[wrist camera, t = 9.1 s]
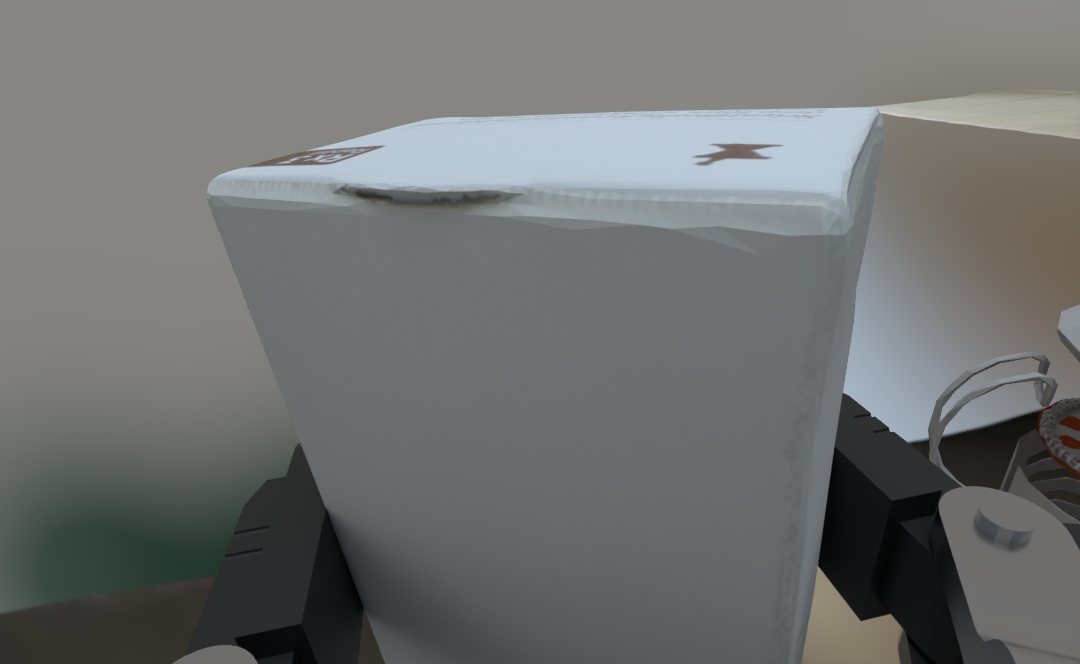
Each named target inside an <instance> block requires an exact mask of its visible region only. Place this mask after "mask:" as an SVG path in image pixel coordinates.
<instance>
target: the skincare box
mask: <svg viewBox="0 0 1080 664" xmlns="http://www.w3.org/2000/svg"><path fill="white" fill-rule="evenodd" d="M882 143H883V121H882V117H881V114H880V112H879V110H878V108H872V107H865V108H819V109H758V110H757V109H756V110H700V111H699V110H698V111H655V112H654V111H652V112H615V113H614V112H612V113H587V114H586V113H584V114H556V115H530V116H502V117H501V116H500V117H472V118H469V117H467V118H466V117H460V118H459V117H456V118H455V117H453V118H438V119H430V120H424V121H419V122H415V123H411V124H407V125H402V126H398V127H394V128H391V129H387V130H384V131H380V132H377V133H374V134H370V135H366V136H363V137H359V138H355V139H351V140H347V141H344V142H340V143H336V144H332V145H328V146H324V147H320V148H316V149H312V150H308V151H304V152H300V153H296V154H292V155H288V156H284V157H280V158H276V159H272V160H269V161H265V162H262V163H258V164H255V165H251V166H248V167H244V168H240V169H236V170H233V171H229V172H227V173H224V174H221V175H219V176H217V177H216V178H215V179H213V180H212V181H211V182H210V183H209V186H208V191H207V199H208V202H209V206H210V209H211V212H212V214H213V217H214V219H215V222H216V225H217V227H218V230H219V232H220V235H221V237H222V240H223V243H224V245H225V248H226V251H227V253H228V256H229V259H230V261H231V264H232V267H233V269H234V272H235V274H236V276H237V278H238V281H239V284H240V286H241V289H242V292H243V295H244V298H245V300H246V303H247V306H248V309H249V311H250V314H251V316H252V319H253V321H254V324H255V326H256V329H257V331H258V334H259V337H260V339H261V341H262V344H263V347H264V350H265V352H266V355H267V357H268V360H269V363H270V365H271V368H272V371H273V373H274V376H275V378H276V381H277V383H278V386H279V388H280V391H281V393H282V396H283V398H284V401H285V404H286V406H287V409H288V412H289V414H290V417H291V420H292V422H293V425H294V428H295V430H296V433H297V435H298V438H299V440H300V443H301V446H302V448H303V451H304V453H305V456H306V459H307V461H308V464H309V466H310V469H311V472H312V474H313V477H314V479H315V482H316V485H317V487H318V490H319V492H320V495H321V497H322V500H323V503H324V505H325V507H326V509H327V512H328V514H329V517H330V520H331V523H332V526H333V528H334V531H335V534H336V536H337V539H338V542H339V544H340V547H341V549H342V552H343V555H344V557H345V560H346V562H347V565H348V568H349V570H350V573H351V575H352V578H353V581H354V583H355V586H356V588H357V591H358V594H359V596H360V599H361V601H362V604H363V607H364V609H365V612H366V615H367V617H368V620H369V622H370V625H371V628H372V630H373V633H374V635H375V638H376V641H377V643H378V646H379V649H380V651H381V654H382V656H383V659H384V662H385V664H801V661H802V655H803V650H804V644H805V639H806V634H807V628H808V623H809V618H810V612H811V607H812V601H813V596H814V589H815V582H816V575H817V568H818V560H819V553H820V546H821V539H822V532H823V525H824V518H825V510H826V503H827V496H828V489H829V482H830V475H831V468H832V460H833V453H834V446H835V439H836V433H837V427H838V420H839V414H840V407H841V401H842V394H843V388H844V381H845V375H846V368H847V362H848V356H849V348H850V342H851V336H852V330H853V323H854V311H855V297H856V287H857V281H858V277H859V272H860V267H861V263H862V258H863V253H864V248H865V243H866V239H867V234H868V229H869V224H870V219H871V213H872V207H873V201H874V195H875V188H876V181H877V176H878V170H879V163H880V156H881V149H882Z"/></svg>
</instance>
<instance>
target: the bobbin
mask: <svg viewBox="0 0 1080 664" xmlns="http://www.w3.org/2000/svg"><path fill="white" fill-rule="evenodd" d="M900 627H901V626H900V625H899V623H898V622H897V621H896V620H895V619H894V617H893V616H892V615H891V614H889V615H885V616H881V617H876V618H872V619H868V620H864V621H860V620H859V618H858V617H857V616H856V615H855V613H854V612H853V611H852V609H851V608H850V607H849V605H848V604H847V603H846V602H845V600H844V599H843V598H842V596H841V595H840V594H839V593H838V591H837V590H836V589H835V587H834V586H833V585H832V583H831V582H830V581H829V580H828V578H827V577H826V576H825V574H824V573H823V572H822V571H821V569H820V568H819V567H818V568H817V575H816V582H815V589H814V596H813V601H812V607H811V612H810V618H809V623H808V628H807V634H806V639H805V644H804V650H803V655H802V661H801V664H900V659H899V654H898V648H897V638H898V633H899V630H900Z"/></svg>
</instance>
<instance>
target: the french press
mask: <svg viewBox="0 0 1080 664" xmlns="http://www.w3.org/2000/svg"><path fill="white" fill-rule="evenodd" d="M1057 332H1058V335H1059V337H1060V339H1061V341H1062V342H1063V344H1064V345H1065V346H1066V347H1067V348H1068V349H1069V351H1070V352H1071V353H1072V354H1073V355H1074V356H1075V357H1076V358H1077V360H1078V361H1079V362H1080V305H1077V306H1075V307H1073V308H1070V309H1067V310H1065V311H1062V313H1061V317H1060V322H1059V326H1058V330H1057ZM1030 357H1032V358H1034V359H1036V360H1038V361H1040V364H1039V369H1038V373H1030V374H1025V375H1020V376H1014V377H1009V378H1003V379H998V380H995V381H993V382H991V383H989V384H987V385H985V386H983V387H980V388H978V389H976V390H974V391H972V392H970V393H969V394H967V395H966V396H965V397H963V398H962V399H961V400H959V401H958V402H957V403H956V404H955V405H954V406H953V408H952V409H951V410H950V411H949V412H948V413H947V415H946V416H945V417H944V418H943V419H942V421H941V422H940V423H939V421H940V416H941V411H942V407H943V406H944V405H945V403H946V402H947V401H948V400H949V398H950V397H951V396H952V394H953V393H954V392H955V391H956V390H957V389H958V388H959V387H960V386H962V385H963V384H964V383H965V382H966V381H968V380H969V379H970V378H971V377H972V376H973V375H976V374H978V373H980V372H982V371H984V370H986V369H989V368H991V367H993V366H995V365H997V364H999V363H1004V362H1009V361H1014V360H1019V359H1025V358H1030ZM1049 365H1050V362H1049V360H1048V359H1047V358H1046V357H1045V355H1041V354H1037V353H1034V352H1027V353H1021V354H1015V355H1009V356H1003V357H997V358H993V359H991V360H989V361H987V362H984V363H982V364H980V365H978V366H976V367H974V368H971V369H969V370H967V371H966V372H965V373H964V374H963V375H961V376H960V377H959V378H958V379H957V380H956V381H954V382H953V383H952V384H951V385H950V386H949V387H948V388H947V389H946V390H945V391H944V392H943V394H942V395H941V396H940V397H939V399H938V400H937V401H936V405H935V408H934V411H933V415H932V418H931V421H930V424H929V428H928V432H929V445H930V452H929V458H930V461H931V462H932V463H934V464H935V465H936V466H937V467H939V468H940V469H941V470H942V471H944V472H945V473H946V474H947V475H949V476H950V477H951V478H952V479H954V480H955V481H956V482H957V483H959V484H960V485H961V486H962V487H965V486H964V485H963V484H961V483H960V482H958V481H957V480H956V479H955V478H954V476H953V475H952V474H951V473H950V472H949V471H948V470H947V469H946V468H945V467H944V466H943V463H942V460H941V457H940V454H939V451H938V445H939V443H940V440H941V437H942V434H943V432H944V429H945V426H946V425H947V424H948V423H949V422H950V420H951V419H952V418H953V417H954V416H955V415H956V414H957V412H958V411H959V410H960V409H961V408H962V407H963V406H964V405H965V404H966V403H968V402H969V401H970V400H973V399H975V398H977V397H979V396H981V395H983V394H985V393H988V392H990V391H992V390H994V389H996V388H998V387H1000V386H1003V385H1005V384H1011V383H1018V382H1026V381H1034V380H1035V383H1034V388H1035V393H1036V398H1037V401H1038V402H1039V403H1040V404H1041V405H1042V407H1045V406H1049V404H1050V402H1051V400H1052V399H1053V397H1054V394H1055V392H1056V389H1057V386H1058V385H1057V383H1056V382H1055V380H1054V379H1053V378H1052V377H1049V376H1046V374H1047V371H1048V368H1049ZM1043 382H1044V383H1046V384H1047V386H1046V388H1045V391H1044V390H1043ZM1045 449H1047V450H1048V452H1049V453H1050V455H1051V457H1052V458H1046V459H1042V460H1040V461H1038V462H1036V463H1034V464H1031V465H1029V466H1027V467H1025V465H1026V462H1027V460H1028V458H1029V457H1031V456H1033V455H1035V454H1037V453H1039V452H1041V451H1043V450H1045ZM1024 467H1025V468H1024ZM1059 468H1066V469H1067V470H1068V471H1069V472H1071V473H1072V474H1073V475H1075V476H1076V477H1077V478H1078V479H1080V398H1078V399H1075V398H1071V399H1064V400H1060V401H1058V402H1056V403H1054V404H1053V405H1051V406H1049V407H1047V408H1045V409H1043V410H1041V411H1040V412H1039V417H1038V422H1037V427H1036V429H1034V430H1033V431H1031V432H1029V433H1027V434H1026V435H1024V436H1022V437H1020V439H1019V441H1018V444H1017V446H1016V449H1015V452H1014V454H1013V457H1012V459H1011V462H1010V465H1009V467H1008V470H1007V472H1006V475H1005V478H1004V480H1003V483H1002V485H1001V488H1000V491H1004V492H1007V493H1011V494H1013V495H1016V496H1019V497H1021V498H1023V499H1026V500H1028V501H1030V502H1032V503H1034V504H1036V505H1037V506H1039V507H1041V508H1043V509H1044V510H1046V511H1047V512H1049V513H1050V514H1052V515H1053V516H1054V517H1055V518H1056V519H1058V520H1059V521H1060V522H1061V523H1072V524H1080V522H1079V521H1078V520H1076V519H1074V518H1077V519H1080V506H1078V505H1075V504H1071V503H1068V502H1065V501H1061V500H1058V499H1055V500H1049V499H1047V498H1046V497H1045V496H1044V495H1043V494H1042V493H1040V492H1047V491H1055V490H1065V491H1069V492H1072V493H1076V494H1079V495H1080V481H1078V480H1075V479H1071V478H1068V477H1065V478H1058V479H1051V480H1044V481H1037V482H1033V483H1031V484H1030V483H1029V481H1028V480H1027V477H1029V476H1031V475H1033V474H1035V473H1037V472H1039V471H1044V470H1052V469H1059ZM1073 517H1074V518H1073Z"/></svg>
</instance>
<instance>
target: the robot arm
mask: <svg viewBox="0 0 1080 664" xmlns="http://www.w3.org/2000/svg"><path fill="white" fill-rule="evenodd" d="M818 567H819V568H820V569H821V571H822V572H823V573H824V574H825V576H826V577H827V578H828V580H829V581H830V582H831V583H832V585H833V586H834V587H835V589H836V590H837V591H838V593H839V594H840V595H841V596H842V598H843V599H844V600H845V602H846V603H847V604H848V605H849V607H850V608H851V609H852V611H853V612H854V613H855V615H856V616H857V617H858V618H859V620H860V621H864V620H868V619H872V618H876V617H881V616H885V615H889V614H891V615H892V616H893V617H894V619H895V620H896V621H897V622H898V623H899V625H900V626H901V627H900V630H899V633H898V638H897V648H898V654H899V659H900V664H1080V524H1072V523H1061V522H1060V521H1059V520H1058V519H1056V518H1055V517H1054V516H1053V515H1052V514H1050V513H1049V512H1047V511H1046V510H1044V509H1043V508H1041V507H1039V506H1037V505H1036V504H1034V503H1032V502H1030V501H1028V500H1026V499H1023V498H1021V497H1019V496H1016V495H1013V494H1011V493H1007V492H1004V491H1000V490H996V489H991V488H985V487H962V486H961V485H960V484H959V483H957V482H956V481H955V480H954V479H952V478H951V477H950V476H949V475H947V474H946V473H945V472H944V471H942V470H941V469H940V468H939V467H937V466H936V465H935V464H934V463H932V462H931V461H930V460H929V459H927V458H926V457H925V456H924V455H922V454H921V453H920V452H919V451H917V450H916V449H915V448H914V447H912V446H911V445H910V444H909V443H907V442H906V441H905V440H904V439H902V438H901V437H900V436H899V435H897V434H896V433H895V432H890V431H889V428H888V427H887V426H886V425H885V424H884V423H882V422H881V421H880V420H878V419H877V418H876V417H871V413H870V412H869V411H867V410H866V409H865V408H863V407H862V406H861V405H860V404H858V403H857V402H856V401H855V400H854V399H852V398H851V397H850V396H848V395H846V394H844V393H843V394H842V401H841V407H840V414H839V420H838V427H837V433H836V439H835V446H834V453H833V460H832V468H831V475H830V482H829V489H828V496H827V503H826V510H825V518H824V525H823V532H822V539H821V546H820V553H819V560H818ZM363 609H364V607H363V604H362V601H361V599H360V596H359V594H358V591H357V588H356V586H355V583H354V581H353V578H352V575H351V573H350V570H349V568H348V565H347V562H346V560H345V557H344V555H343V552H342V549H341V547H340V544H339V542H338V539H337V536H336V534H335V531H334V528H333V526H332V523H331V520H330V517H329V514H328V512H327V509H326V507H325V505H324V503H323V500H322V497H321V495H320V492H319V490H318V487H317V485H316V482H315V479H314V477H313V474H312V472H311V469H310V466H309V464H308V461H307V459H306V456H305V453H304V451H303V448H302V446H301V443H299V444H297V446H296V448H295V451H294V453H293V457H292V460H291V463H290V466H289V469H288V472H287V475H286V477H282V478H276V479H271V480H267V481H266V482H265V483H264V484H263V485H262V487H260V489H259V490H258V491H257V492H256V493H255V494H254V495H253V496H252V498H251V499H250V500H249V501H248V502H247V503H246V504H245V506H244V508H243V510H242V513H241V515H240V518H239V521H238V523H237V526H236V528H235V531H234V537H233V538H231V541H230V544H229V546H228V548H227V551H226V554H225V561H222V564H221V566H220V569H219V571H218V574H217V576H216V579H215V581H214V584H213V586H212V589H211V591H210V594H209V597H208V599H207V602H206V604H205V607H204V609H203V612H202V614H201V617H200V619H199V622H198V624H197V627H196V629H195V632H194V635H193V637H192V640H191V642H190V645H189V647H188V650H187V652H186V654H185V657H183V658H181V659H179V660H177V661H176V662H174V663H172V664H358V656H359V647H360V638H361V628H362V619H363Z"/></svg>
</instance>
